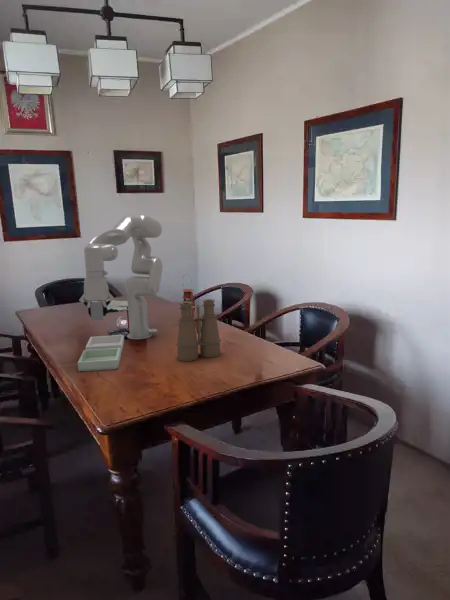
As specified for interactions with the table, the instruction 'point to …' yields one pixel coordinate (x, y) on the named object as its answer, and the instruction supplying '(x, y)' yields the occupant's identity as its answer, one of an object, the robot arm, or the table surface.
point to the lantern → (189, 295)
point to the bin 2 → (99, 359)
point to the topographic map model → (114, 303)
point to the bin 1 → (105, 342)
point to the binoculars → (208, 330)
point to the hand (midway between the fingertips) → (98, 315)
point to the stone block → (97, 311)
